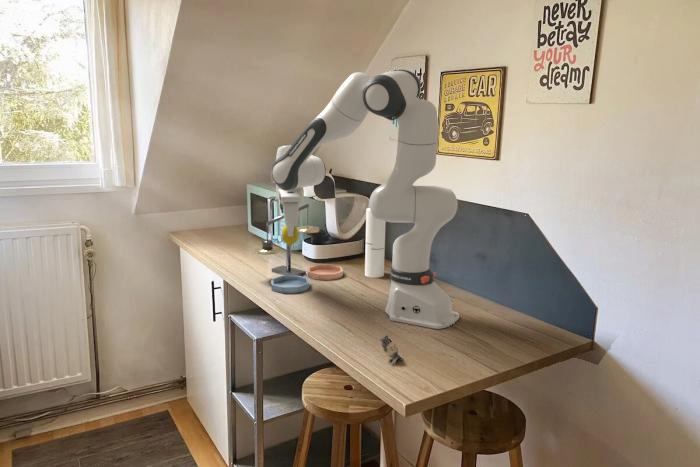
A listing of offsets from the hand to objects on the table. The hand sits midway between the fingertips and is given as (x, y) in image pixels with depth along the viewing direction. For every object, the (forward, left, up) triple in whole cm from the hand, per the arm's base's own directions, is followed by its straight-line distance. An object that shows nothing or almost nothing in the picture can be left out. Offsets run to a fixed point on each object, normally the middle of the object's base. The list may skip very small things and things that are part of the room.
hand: (290, 233), depth 184 cm
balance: (+12, -12, -19) cm, 26 cm away
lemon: (0, 0, -5) cm, 5 cm away
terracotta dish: (0, -19, -19) cm, 27 cm away
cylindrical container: (-14, -31, -19) cm, 39 cm away
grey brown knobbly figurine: (-57, +25, -19) cm, 65 cm away
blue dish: (0, 0, -19) cm, 19 cm away
